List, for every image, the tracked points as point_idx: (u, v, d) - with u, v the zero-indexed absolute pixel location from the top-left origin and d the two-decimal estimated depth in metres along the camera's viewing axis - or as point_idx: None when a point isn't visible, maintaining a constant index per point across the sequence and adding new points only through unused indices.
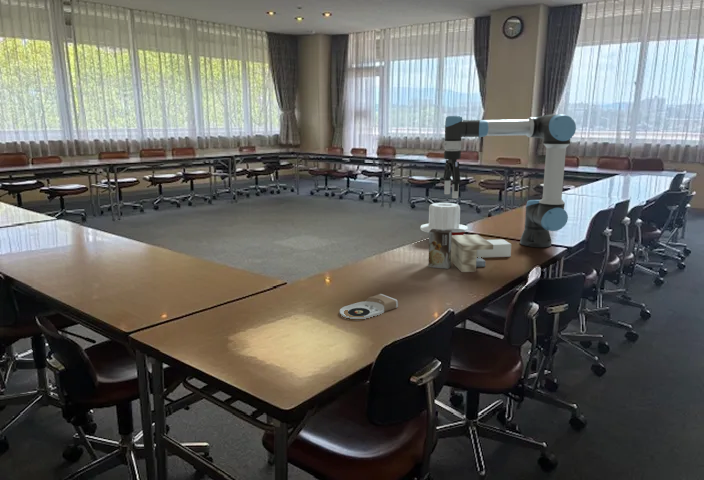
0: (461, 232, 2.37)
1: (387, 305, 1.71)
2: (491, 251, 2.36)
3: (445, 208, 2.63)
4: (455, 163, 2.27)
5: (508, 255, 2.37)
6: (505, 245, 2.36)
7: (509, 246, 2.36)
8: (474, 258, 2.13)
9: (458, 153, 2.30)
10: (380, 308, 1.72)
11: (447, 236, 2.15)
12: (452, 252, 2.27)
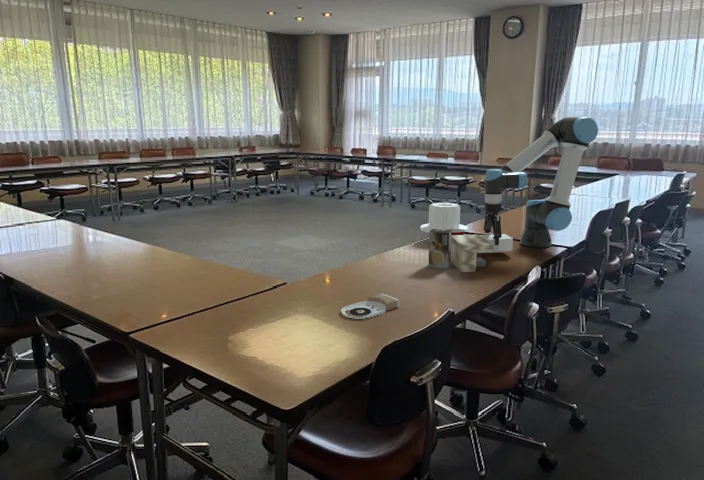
0: (461, 232, 2.37)
1: (388, 304, 1.71)
2: None
3: (445, 208, 2.63)
4: (497, 218, 2.31)
5: (510, 249, 2.37)
6: (506, 239, 2.35)
7: (511, 240, 2.36)
8: (474, 258, 2.13)
9: (499, 206, 2.33)
10: (381, 308, 1.72)
11: (447, 236, 2.15)
12: (452, 252, 2.27)
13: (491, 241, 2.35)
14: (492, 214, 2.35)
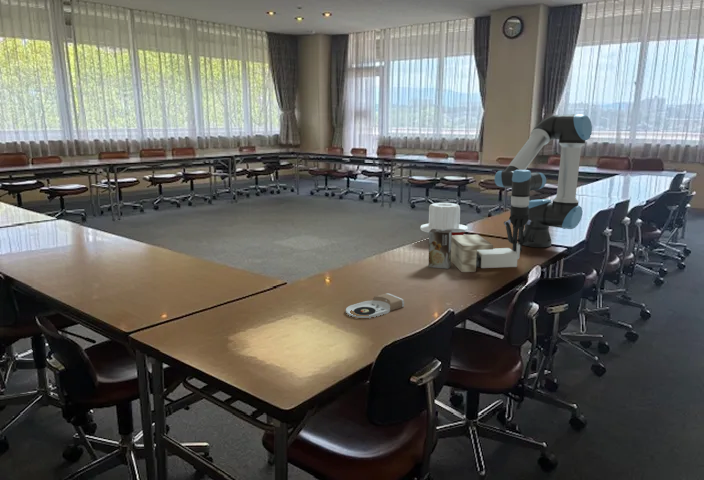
0: (461, 232, 2.37)
1: (393, 304, 1.71)
2: (496, 261, 2.19)
3: (445, 208, 2.63)
4: (504, 223, 2.21)
5: (514, 265, 2.20)
6: (511, 254, 2.19)
7: (515, 256, 2.19)
8: (474, 258, 2.13)
9: (514, 209, 2.18)
10: (386, 307, 1.72)
11: (447, 236, 2.15)
12: (452, 252, 2.27)
13: (494, 256, 2.19)
14: None
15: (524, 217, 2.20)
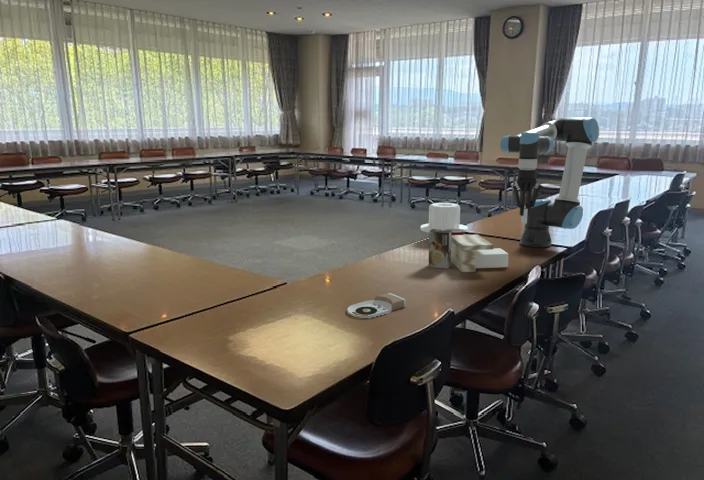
0: (461, 232, 2.37)
1: (395, 304, 1.71)
2: (487, 262, 2.19)
3: (445, 208, 2.63)
4: (512, 187, 2.18)
5: (505, 266, 2.20)
6: (502, 255, 2.19)
7: (506, 256, 2.19)
8: (474, 258, 2.13)
9: (521, 172, 2.14)
10: (388, 307, 1.73)
11: (447, 236, 2.15)
12: (452, 252, 2.27)
13: (485, 256, 2.18)
14: None
15: (532, 180, 2.16)
